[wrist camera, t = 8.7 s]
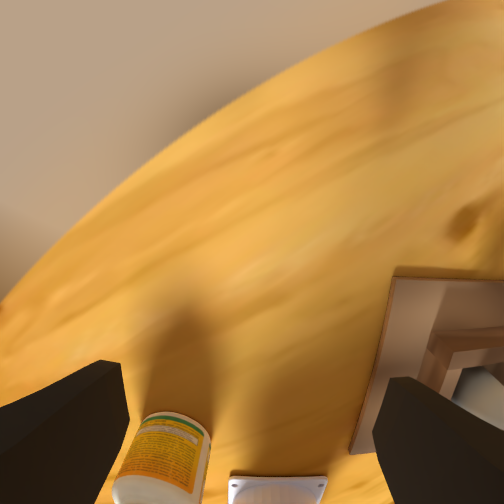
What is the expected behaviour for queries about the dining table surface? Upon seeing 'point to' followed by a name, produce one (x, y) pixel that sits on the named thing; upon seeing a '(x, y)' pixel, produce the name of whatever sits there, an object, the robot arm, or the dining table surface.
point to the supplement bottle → (164, 462)
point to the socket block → (434, 340)
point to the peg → (480, 395)
